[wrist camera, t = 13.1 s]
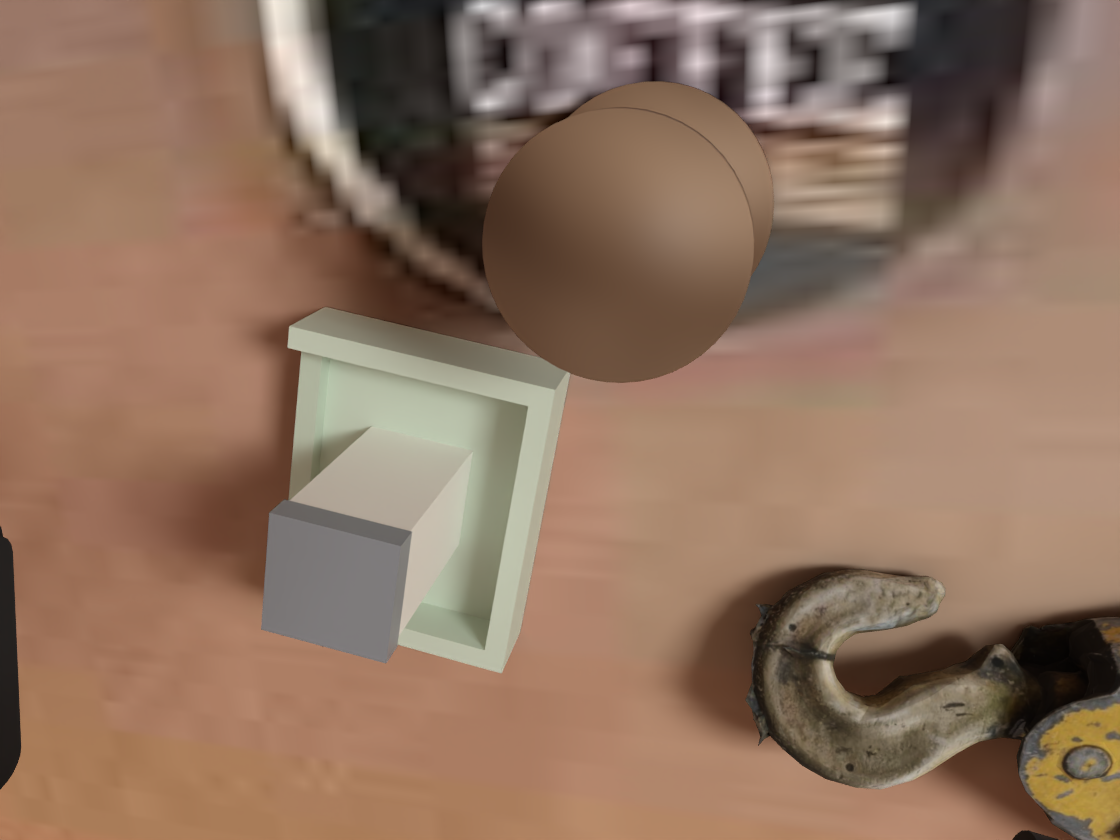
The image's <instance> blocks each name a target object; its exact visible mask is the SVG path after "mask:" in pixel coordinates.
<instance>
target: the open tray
mask: <svg viewBox="0 0 1120 840" xmlns="http://www.w3.org/2000/svg"><path fill="white" fill-rule="evenodd" d="M288 348H290V349H294V350H298V351H301V362H300V373H299V385H298V396H297V408H296V419H295V431H294V442H293V454H292V465H291V477H290V488H289V499H288V500H289V501H290V500H291V499H292V498H293V497H294V496H295V495H296V494H297V493H299V492H300V491H301V490H302V489H303V488H304V487H305V486H306V485H307V484H308V483H310V482H311V481H312V480H313V479H314V478H315V477H316V476H317V475H318V474H320V473H321V472H322V471H323V470H324V469H325V468H326V467H327V466H328V465H330V464H331V463H332V462H333V461H334V460H335V459H336V458H337V457H338V456H339V455H341V454H342V453H343V452H344V451H345V450H346V449H347V448H348V447H349V446H351V445H352V444H353V443H354V442H355V441H356V440H357V439H358V438H359V437H360V436H362V435H363V434H364V433H365V432H366V431H367V430H368V429H369V428H370V427H372V426H373V427H377V428H381V429H385V430H389V431H393V432H398V433H402V434H406V435H410V436H414V437H418V438H423V439H427V440H431V441H435V442H439V443H443V444H448V445H452V446H456V447H460V448H464V449H468V450H473V454H472V461H471V468H470V474H469V481H468V488H467V494H466V501H465V508H464V514H463V521H462V528H461V535H460V541H459V545H458V547H457V548H456V550H455V551H454V553H453V554H452V556H451V557H450V559H449V560H448V562H447V563H446V565H445V567H444V568H443V570H442V571H441V573H440V574H439V576H438V577H437V579H436V580H435V582H434V583H433V585H432V586H431V588H430V590H429V591H428V593H427V594H426V596H425V597H424V599H423V600H422V602H421V603H420V605H419V606H418V608H417V609H416V611H415V613H414V614H413V616H412V617H411V619H410V620H409V622H408V623H407V625H406V626H405V628H404V629H403V631H402V632H401V634H400V635H399V638H398V645H401V646H405V647H408V648H412V649H415V650H419V651H423V652H426V653H430V654H433V655H437V656H441V657H444V658H448V659H451V660H455V661H459V662H462V663H466V664H469V665H473V666H477V667H480V668H484V669H487V670H491V671H495V672H498V673H502V672H503V669H504V667H505V665H506V663H507V660H508V658H509V656H510V654H511V651H512V649H513V647H514V645H515V642H516V640H517V638H518V636H519V633H520V630H521V625H522V620H523V615H524V610H525V605H526V599H527V594H528V589H529V584H530V579H531V574H532V568H533V563H534V558H535V553H536V548H537V543H538V537H539V532H540V527H541V522H542V517H543V512H544V506H545V501H546V496H547V491H548V486H549V481H550V475H551V470H552V465H553V460H554V455H555V450H556V444H557V439H558V434H559V429H560V424H561V419H562V413H563V408H564V403H565V398H566V393H567V388H568V382H569V377H570V373H569V372H567V371H564V370H562V369H560V368H558V367H556V366H554V365H552V364H551V363H549V362H547V361H546V360H544V359H543V358H540V357H536V356H531V355H527V354H523V353H519V352H514V351H510V350H506V349H502V348H497V347H493V346H489V345H485V344H480V343H476V342H472V341H468V340H464V339H459V338H455V337H451V336H447V335H442V334H438V333H434V332H430V331H425V330H421V329H417V328H413V327H408V326H404V325H400V324H396V323H392V322H387V321H383V320H379V319H375V318H370V317H366V316H362V315H358V314H353V313H349V312H345V311H341V310H336V309H332V308H328V307H324V308H322V309H320V310H318V311H316V312H315V313H313V314H311V315H309V316H307V317H305V318H304V319H302V320H300V321H298V322H296V323H294V324H293V325H291V326H289V336H288Z"/></svg>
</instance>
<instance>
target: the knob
mask: <svg viewBox="0 0 1120 840" xmlns="http://www.w3.org/2000/svg"><path fill="white" fill-rule="evenodd" d="M773 211H774V194H773V182H772V177H771V173H770V168H769V165H768V162H767V159H766V156H765V154H764V151H763V149H762V147H761V145H760V143H759V142H758V140H757V138H756V136H755V135H754V133H753V132H752V131H751V129H750V128H749V126H748V125H747V124H746V123H745V122H744V120H743V119H742V118H741V117H740V116H739V115H738V114H737V113H736V112H735V111H734V110H732V109H731V108H730V107H729V106H727V105H726V104H725V103H724V102H722V101H721V100H719V99H717V98H716V97H714V96H712V95H711V94H709V93H706V92H704V91H702V90H699V89H697V88H694V87H691V86H687V85H683V84H680V83H672V82H664V81H653V82H641V83H634V84H628V85H624V86H621V87H617V88H614V89H611V90H609V91H607V92H604V93H602V94H600V95H598V96H596V97H594V98H593V99H591V100H589V101H588V102H586V103H585V104H583V105H582V106H581V107H579V108H578V109H577V110H576V111H575V112H573V113H572V114H571V115H570V116H569V117H568V118H566V119H564V120H562V121H560V122H557V123H555V124H553V125H551V126H550V127H548V128H547V129H545V130H543V131H542V132H540V133H539V134H537V135H536V136H535V137H534V138H532V139H531V140H530V141H529V142H528V143H526V144H525V145H524V146H523V147H522V148H521V149H520V150H519V151H518V152H517V154H516V155H515V156H514V157H513V158H512V159H511V161H510V162H509V163H508V165H507V166H506V168H505V169H504V171H503V172H502V174H501V175H500V177H499V179H498V181H497V183H496V185H495V187H494V189H493V192H492V195H491V197H490V200H489V203H488V206H487V210H486V215H485V220H484V226H483V237H482V247H483V261H484V267H485V273H486V277H487V281H488V284H489V288H490V291H491V293H492V296H493V298H494V300H495V302H496V305H497V307H498V309H499V311H500V312H501V314H502V316H503V317H504V319H505V321H506V322H507V324H508V325H509V326H510V327H511V329H512V330H513V331H514V333H515V334H516V335H517V336H518V337H519V338H520V339H521V340H522V341H523V342H524V343H525V344H526V345H527V346H528V347H529V348H530V349H531V350H532V351H534V352H535V353H536V354H537V355H539V356H540V357H541V358H543V359H544V360H546V361H547V362H549V363H551V364H552V365H554V366H556V367H558V368H560V369H562V370H564V371H567V372H569V373H571V374H574V375H577V376H580V377H583V378H587V379H591V380H597V381H603V382H616V383H626V382H638V381H644V380H648V379H653V378H657V377H660V376H663V375H666V374H669V373H671V372H674V371H676V370H678V369H680V368H682V367H684V366H686V365H688V364H689V363H691V362H692V361H693V360H695V359H696V358H698V357H699V356H701V355H702V354H703V353H704V352H706V351H707V350H708V349H709V348H710V347H711V346H712V345H713V344H715V343H716V341H717V340H718V339H719V338H720V337H721V336H722V334H723V333H724V332H725V331H726V330H727V328H728V327H729V325H730V324H731V322H732V321H733V319H734V318H735V316H736V314H737V312H738V310H739V308H740V306H741V304H742V302H743V300H744V297H745V294H746V291H747V288H748V285H749V282H750V277H751V275H752V274H753V272H754V271H755V269H756V268H757V266H758V264H759V262H760V260H761V258H762V256H763V254H764V252H765V249H766V246H767V243H768V240H769V237H770V233H771V227H772V222H773Z"/></svg>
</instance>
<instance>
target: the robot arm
mask: <svg viewBox="0 0 1120 840" xmlns="http://www.w3.org/2000/svg"><path fill="white" fill-rule="evenodd" d="M20 753H21V732H20V709H19V685H18V662H17V638H16V615H15V592H14V568H13V551H12V546H11V543H10V542H9V540H8V539H6V538H4V537H3V534H2V529H1V527H0V789H1V788H2V787H3V786H4V785H5V783H6V782H7V781H8V780H9V778H10V777H11V775H12V774H13V772H14V770H15V768H16V765H17V763H18V760H19V757H20ZM1013 840H1058V839H1055V838H1051V837H1048V836H1045V835H1041V834H1038V833H1035V832H1031V831H1021V832H1019V833H1018V834H1017V835H1015V837H1014V838H1013Z"/></svg>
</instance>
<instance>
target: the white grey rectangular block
mask: <svg viewBox="0 0 1120 840" xmlns="http://www.w3.org/2000/svg"><path fill="white" fill-rule="evenodd" d="M472 454H473V450H468V449H464V448H460V447H456V446H452V445H448V444H443V443H439V442H435V441H431V440H427V439H423V438H418V437H414V436H410V435H406V434H402V433H398V432H393V431H389V430H385V429H381V428H377V427H373V426H372V427H370V428H369V429H368V430H367V431H366V432H365V433H364V434H363V435H362V436H360V437H359V438H358V439H357V440H356V441H355V442H354V443H353V444H352V445H351V446H349V447H348V448H347V449H346V450H345V451H344V452H343V453H342V454H341V455H339V456H338V457H337V458H336V459H335V460H334V461H333V462H332V463H331V464H330V465H328V466H327V467H326V468H325V469H324V470H323V471H322V472H321V473H320V474H318V475H317V476H316V477H315V478H314V479H313V480H312V481H311V482H310V483H308V484H307V485H306V486H305V487H304V488H303V489H302V490H301V491H300V492H299V493H297V494H296V495H295V496H294V497H293V498H292V499H291V500H290V501H289V500H285V499H284V500H283V501H282V502H281V503H280V504H278V505H277V506H276V507H275V508H274V509H273V510H272V511H271V512H269V524H268V539H267V553H266V568H265V582H264V597H263V612H262V626H261V630H265V631H269V632H272V633H276V634H280V635H283V636H287V637H291V638H295V639H298V640H302V641H306V642H309V643H313V644H317V645H320V646H324V647H328V648H331V649H335V650H339V651H342V652H346V653H350V654H353V655H357V656H361V657H365V658H368V659H372V660H376V661H379V662H383V663H387V661H388V660H389V658H390V657H391V655H392V654H393V652H394V651H395V649H396V647H397V645H398V638H399V635H400V634H401V632H402V631H403V629H404V628H405V626H406V625H407V623H408V622H409V620H410V619H411V617H412V616H413V614H414V613H415V611H416V609H417V608H418V606H419V605H420V603H421V602H422V600H423V599H424V597H425V596H426V594H427V593H428V591H429V590H430V588H431V586H432V585H433V583H434V582H435V580H436V579H437V577H438V576H439V574H440V573H441V571H442V570H443V568H444V567H445V565H446V563H447V562H448V560H449V559H450V557H451V556H452V554H453V553H454V551H455V550H456V548H457V547H458V545H459V541H460V535H461V528H462V521H463V514H464V508H465V501H466V494H467V488H468V481H469V474H470V468H471V461H472Z"/></svg>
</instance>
